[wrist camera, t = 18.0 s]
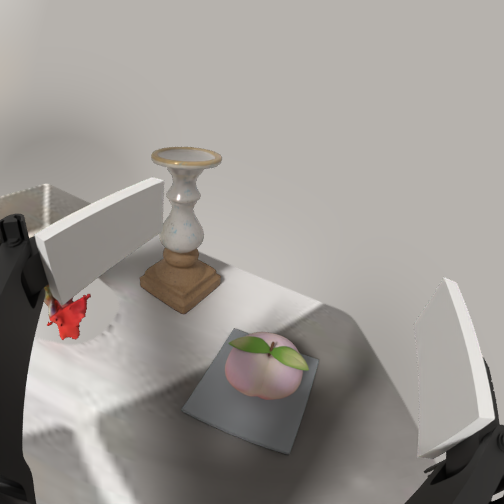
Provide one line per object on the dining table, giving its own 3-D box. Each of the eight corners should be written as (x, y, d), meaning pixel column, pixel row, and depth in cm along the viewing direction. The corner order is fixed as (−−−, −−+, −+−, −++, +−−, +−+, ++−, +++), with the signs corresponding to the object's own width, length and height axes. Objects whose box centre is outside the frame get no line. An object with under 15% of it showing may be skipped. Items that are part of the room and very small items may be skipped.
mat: (287, 454, 25) (289, 453, 25) (182, 411, 28) (181, 408, 28) (317, 362, 38) (319, 359, 38) (233, 331, 42) (234, 328, 41)
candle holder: (178, 260, 55) (184, 143, 42) (221, 283, 51) (239, 156, 38) (139, 285, 46) (133, 153, 34) (183, 315, 42) (189, 168, 30)
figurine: (67, 337, 37) (39, 275, 36) (109, 319, 39) (79, 251, 37) (46, 354, 29) (13, 281, 28) (91, 335, 31) (55, 254, 29)
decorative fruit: (293, 368, 36) (315, 321, 31) (288, 417, 29) (315, 379, 24) (229, 354, 37) (238, 304, 31) (214, 402, 30) (220, 359, 24)
